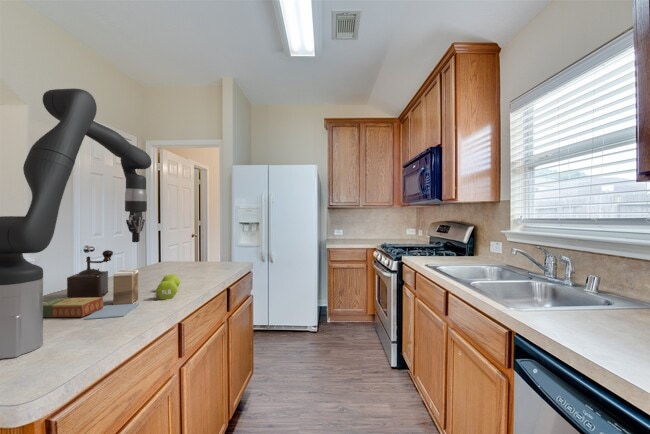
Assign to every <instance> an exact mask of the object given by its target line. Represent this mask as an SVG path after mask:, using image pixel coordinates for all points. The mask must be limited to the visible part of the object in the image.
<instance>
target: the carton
mask: <svg viewBox="0 0 650 434" xmlns="http://www.w3.org/2000/svg"><path fill="white" fill-rule="evenodd" d="M103 298H104V296H103V297H89V298H67V297H57V298H55V299H52V300H49V301H46V302H43V318H70V317H71V318H74V317H75V318H80V317H81V318H82V317H83V318H84V317H86V316H89V315H90V314H92V313H94V312H95V311H98V310H100V309H102V308H103V306H104V299H103Z"/></svg>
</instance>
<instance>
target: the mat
mask: <svg viewBox="0 0 650 434" xmlns="http://www.w3.org/2000/svg"><path fill="white" fill-rule="evenodd" d="M138 306H139V303H134V304H123V305H112V304H110V305H103V308H102V309H100V310H98V311H95V312H93V313H90V314H88V315H86V316H85V317H83V320H85V321H86V320H87V321H88V320H97V319H98V320H99V319H111V318H113V319H114V318H123V317H125V316H127V315H128V314H129V313H130V312H131V311H133V310H134V309H136V307H138Z"/></svg>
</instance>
